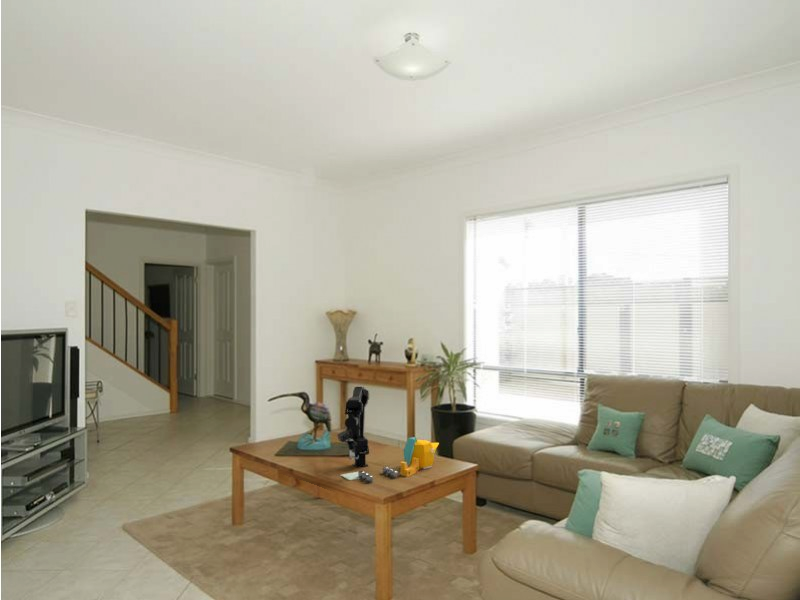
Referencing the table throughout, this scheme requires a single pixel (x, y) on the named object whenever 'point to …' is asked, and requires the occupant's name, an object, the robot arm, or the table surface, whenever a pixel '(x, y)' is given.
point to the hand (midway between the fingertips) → (354, 456)
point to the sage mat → (351, 476)
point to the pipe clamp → (412, 469)
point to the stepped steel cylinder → (353, 455)
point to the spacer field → (369, 478)
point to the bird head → (420, 452)
